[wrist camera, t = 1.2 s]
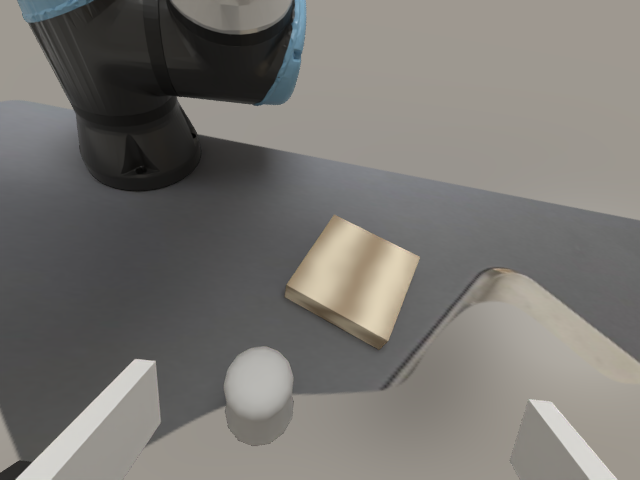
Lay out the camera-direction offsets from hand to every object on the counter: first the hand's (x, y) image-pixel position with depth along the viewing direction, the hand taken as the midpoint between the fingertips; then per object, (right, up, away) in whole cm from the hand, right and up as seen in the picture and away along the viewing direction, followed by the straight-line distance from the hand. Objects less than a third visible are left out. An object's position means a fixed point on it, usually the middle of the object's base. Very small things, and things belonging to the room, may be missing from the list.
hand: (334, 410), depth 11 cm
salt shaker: (-6, -10, +18) cm, 22 cm away
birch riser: (+3, +1, +28) cm, 28 cm away
